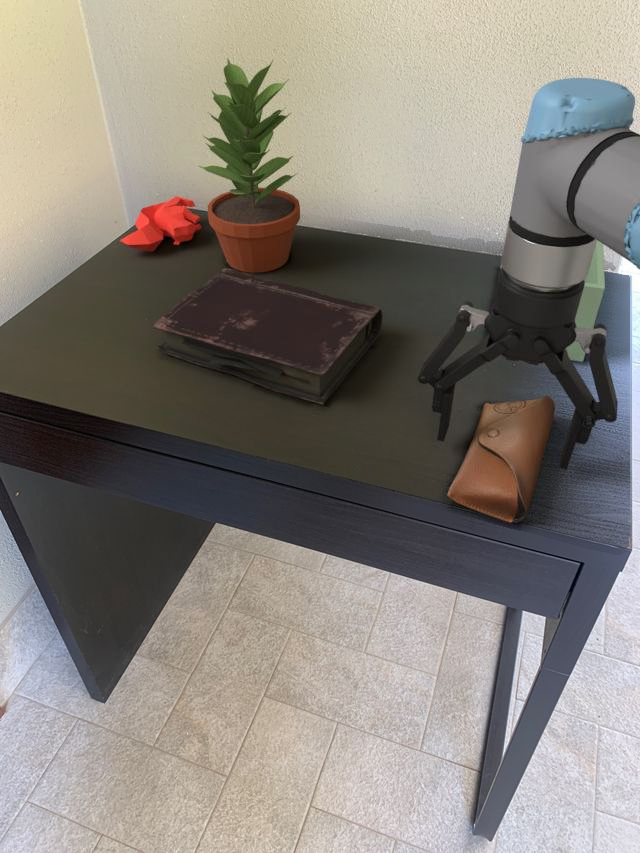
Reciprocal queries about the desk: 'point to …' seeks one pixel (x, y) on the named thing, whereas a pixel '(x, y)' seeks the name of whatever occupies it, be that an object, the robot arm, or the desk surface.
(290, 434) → the desk surface
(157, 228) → the animal figurine
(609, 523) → the desk surface
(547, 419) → the sunglasses case
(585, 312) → the green open box
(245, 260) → the potted plant
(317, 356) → the diary
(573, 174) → the robot arm
